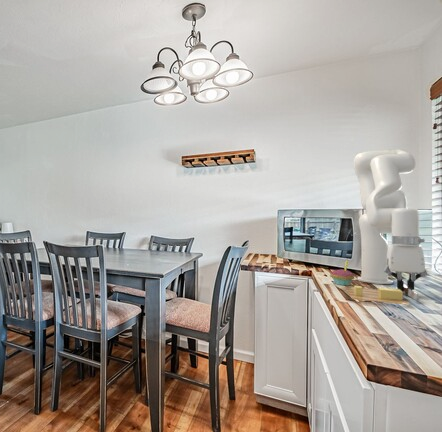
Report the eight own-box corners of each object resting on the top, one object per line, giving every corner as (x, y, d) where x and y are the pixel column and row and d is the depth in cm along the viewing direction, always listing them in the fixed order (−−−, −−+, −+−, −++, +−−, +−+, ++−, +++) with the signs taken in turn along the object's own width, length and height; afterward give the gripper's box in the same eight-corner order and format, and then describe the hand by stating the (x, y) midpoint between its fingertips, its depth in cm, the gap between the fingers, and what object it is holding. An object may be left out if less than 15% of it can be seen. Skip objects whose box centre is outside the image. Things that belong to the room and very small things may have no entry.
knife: (397, 289, 124) (397, 282, 124) (403, 290, 123) (403, 283, 123) (414, 301, 106) (414, 293, 106) (421, 301, 105) (421, 293, 105)
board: (343, 288, 131) (343, 286, 131) (394, 293, 124) (394, 290, 124) (351, 301, 112) (352, 298, 112) (412, 307, 104) (412, 304, 104)
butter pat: (354, 293, 120) (354, 285, 120) (360, 293, 119) (360, 285, 119) (355, 295, 117) (355, 287, 117) (362, 296, 116) (362, 288, 116)
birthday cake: (350, 284, 139) (350, 257, 139) (357, 289, 131) (357, 260, 131) (327, 283, 142) (327, 256, 142) (333, 287, 134) (333, 259, 134)
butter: (378, 295, 117) (378, 287, 117) (399, 297, 114) (399, 289, 114) (380, 298, 113) (380, 289, 113) (402, 300, 110) (402, 291, 110)
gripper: (430, 241, 117) (430, 291, 117) (375, 240, 125) (376, 287, 125) (438, 242, 110) (438, 295, 110) (380, 241, 118) (380, 290, 118)
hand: (405, 290), depth 118 cm, fingers closed on knife, 1 cm apart
